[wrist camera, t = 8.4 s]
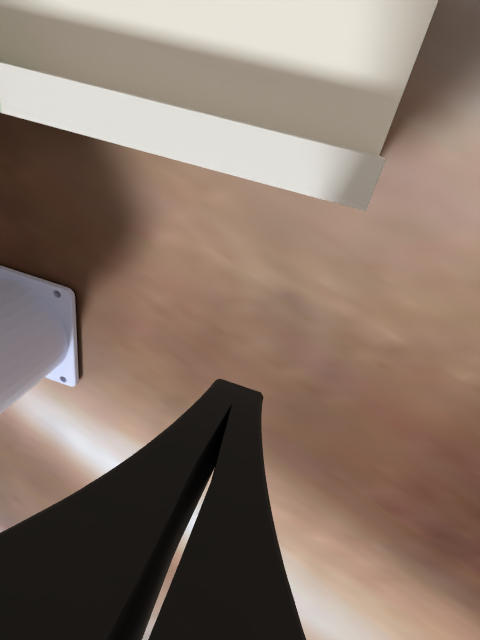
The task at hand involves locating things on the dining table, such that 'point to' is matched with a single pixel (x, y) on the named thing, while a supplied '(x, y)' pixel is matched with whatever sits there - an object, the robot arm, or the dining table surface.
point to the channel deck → (222, 81)
